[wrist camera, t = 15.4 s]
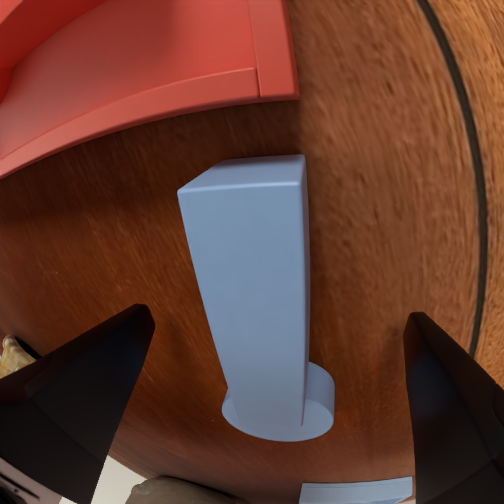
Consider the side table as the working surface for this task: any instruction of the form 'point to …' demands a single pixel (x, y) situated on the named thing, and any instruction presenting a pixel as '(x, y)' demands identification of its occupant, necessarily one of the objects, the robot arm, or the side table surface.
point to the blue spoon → (259, 293)
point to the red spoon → (32, 28)
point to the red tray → (144, 71)
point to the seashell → (13, 357)
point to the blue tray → (357, 492)
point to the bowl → (174, 493)
